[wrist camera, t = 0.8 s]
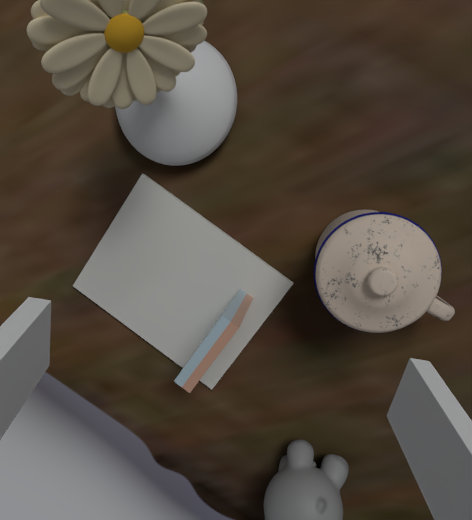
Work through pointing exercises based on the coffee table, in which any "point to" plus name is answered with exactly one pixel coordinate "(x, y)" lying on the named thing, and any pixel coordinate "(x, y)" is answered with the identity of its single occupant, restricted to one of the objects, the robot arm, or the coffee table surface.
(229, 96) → the flower in vase
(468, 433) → the robot arm
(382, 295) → the teacup with lid
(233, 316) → the tile
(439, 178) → the coffee table surface
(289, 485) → the chubby cartoon animal
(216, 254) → the mat
